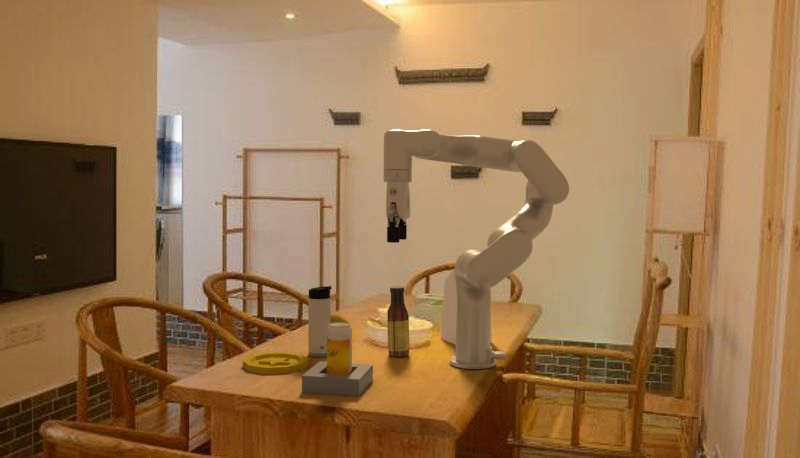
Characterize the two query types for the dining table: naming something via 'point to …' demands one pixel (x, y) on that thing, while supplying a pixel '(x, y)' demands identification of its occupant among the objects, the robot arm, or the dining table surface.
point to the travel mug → (318, 320)
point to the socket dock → (337, 380)
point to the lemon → (337, 319)
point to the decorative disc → (275, 362)
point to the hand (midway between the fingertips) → (397, 240)
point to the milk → (450, 311)
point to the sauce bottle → (398, 324)
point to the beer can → (339, 348)
